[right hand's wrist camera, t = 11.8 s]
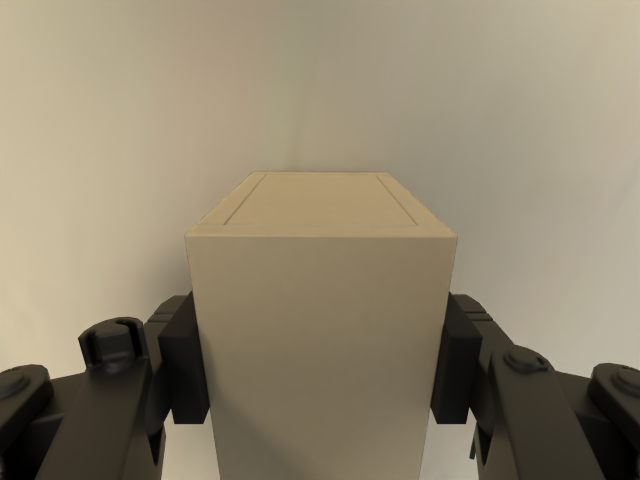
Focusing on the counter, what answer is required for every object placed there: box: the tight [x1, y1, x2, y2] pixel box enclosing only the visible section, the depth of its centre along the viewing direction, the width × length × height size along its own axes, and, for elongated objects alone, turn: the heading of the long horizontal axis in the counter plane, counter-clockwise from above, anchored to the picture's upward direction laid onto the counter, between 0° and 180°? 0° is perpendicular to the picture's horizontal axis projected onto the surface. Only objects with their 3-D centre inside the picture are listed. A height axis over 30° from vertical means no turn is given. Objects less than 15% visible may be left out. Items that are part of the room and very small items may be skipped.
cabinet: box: [185, 172, 458, 480], centre depth 14 cm, size 17×6×8 cm, turn 0°
